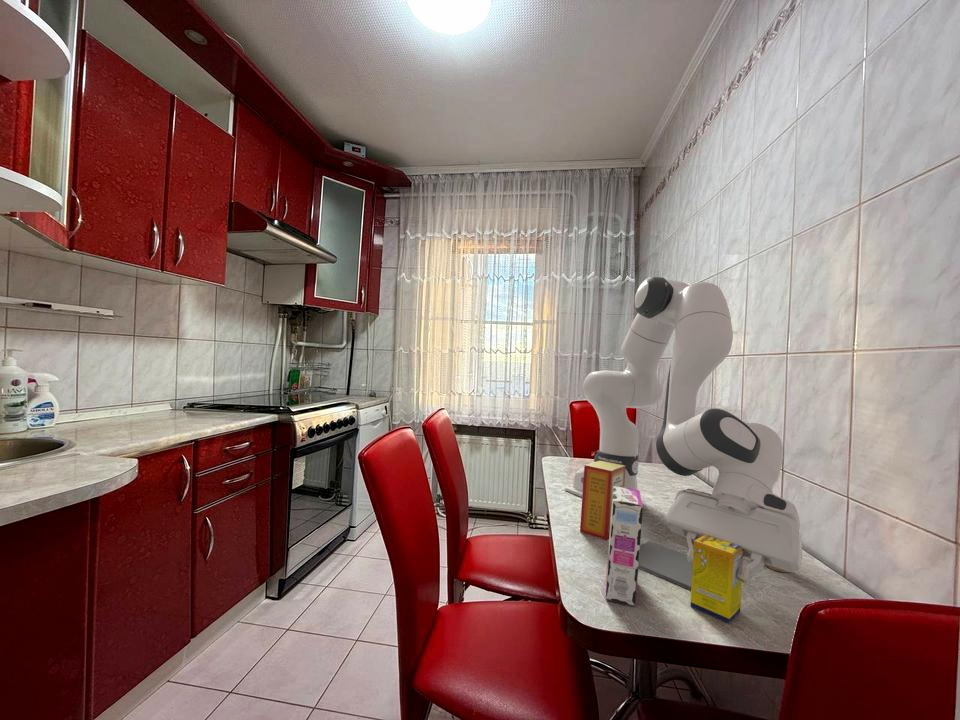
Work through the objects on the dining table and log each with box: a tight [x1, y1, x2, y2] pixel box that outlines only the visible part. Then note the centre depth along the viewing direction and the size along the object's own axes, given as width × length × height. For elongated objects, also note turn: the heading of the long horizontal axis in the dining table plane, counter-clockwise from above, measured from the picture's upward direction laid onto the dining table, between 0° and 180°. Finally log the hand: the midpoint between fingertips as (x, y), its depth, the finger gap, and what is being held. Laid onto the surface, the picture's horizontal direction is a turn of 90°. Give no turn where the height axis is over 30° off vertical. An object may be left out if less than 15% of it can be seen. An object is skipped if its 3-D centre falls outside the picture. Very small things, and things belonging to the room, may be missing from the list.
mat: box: [638, 540, 693, 591], centre depth 85 cm, size 15×14×1 cm
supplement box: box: [690, 535, 744, 624], centre depth 69 cm, size 6×6×11 cm
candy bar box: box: [605, 486, 644, 607], centre depth 74 cm, size 11×5×16 cm, turn 162°
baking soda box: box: [579, 461, 626, 541], centre depth 101 cm, size 10×6×16 cm
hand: (715, 570), depth 69 cm, fingers open, 6 cm apart
